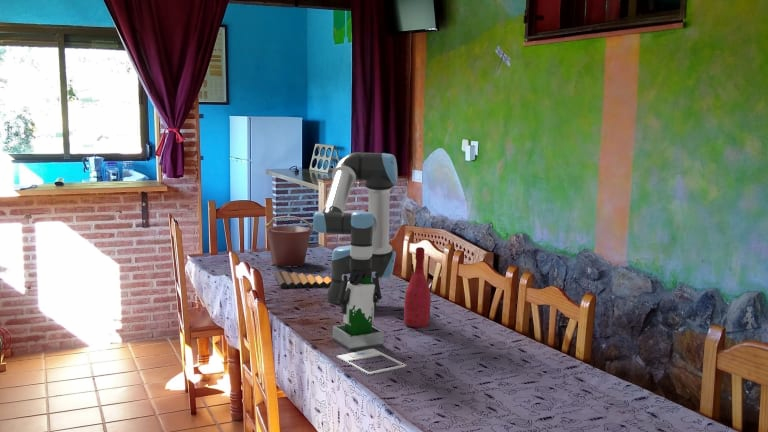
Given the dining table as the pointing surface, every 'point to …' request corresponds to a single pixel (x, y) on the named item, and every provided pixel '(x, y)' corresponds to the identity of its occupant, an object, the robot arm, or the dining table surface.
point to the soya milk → (360, 308)
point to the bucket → (288, 243)
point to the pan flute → (300, 280)
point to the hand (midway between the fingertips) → (358, 321)
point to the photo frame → (366, 355)
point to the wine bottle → (417, 296)
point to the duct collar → (358, 339)
